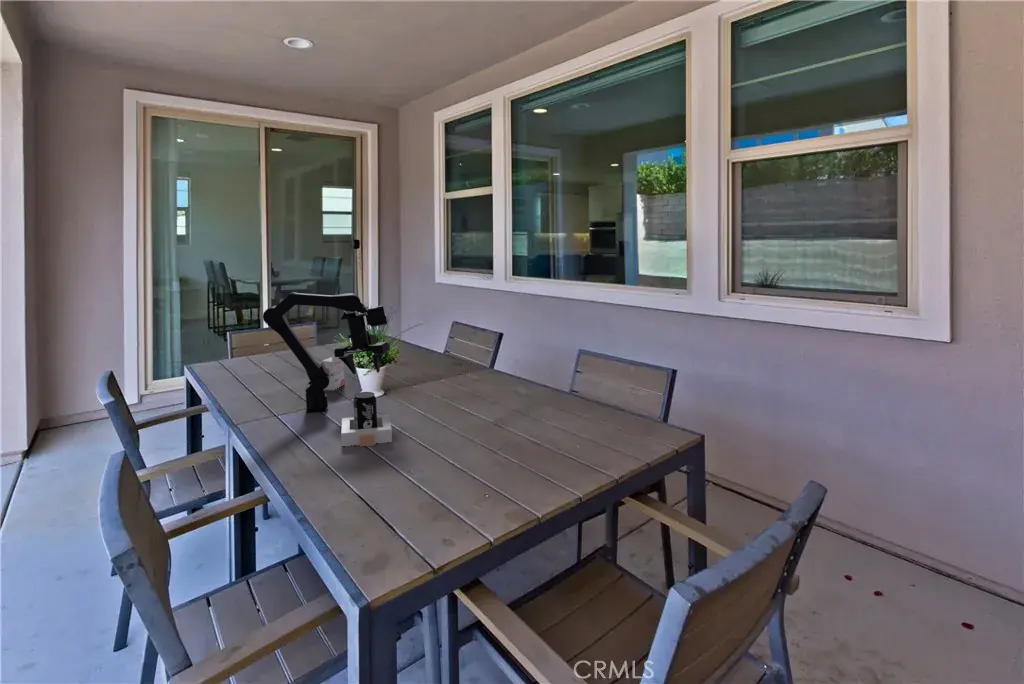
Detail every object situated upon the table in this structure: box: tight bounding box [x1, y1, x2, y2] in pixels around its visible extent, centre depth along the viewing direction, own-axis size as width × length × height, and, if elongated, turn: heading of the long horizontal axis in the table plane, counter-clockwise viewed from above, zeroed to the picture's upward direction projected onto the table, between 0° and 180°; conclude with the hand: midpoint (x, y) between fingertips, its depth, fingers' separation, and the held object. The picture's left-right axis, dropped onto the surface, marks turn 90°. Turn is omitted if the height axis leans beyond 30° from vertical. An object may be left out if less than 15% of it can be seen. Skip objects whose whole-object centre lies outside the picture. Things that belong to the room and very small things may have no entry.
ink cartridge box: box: [321, 352, 346, 391], centre depth 217 cm, size 9×5×15 cm, turn 168°
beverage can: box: [352, 391, 378, 430], centre depth 164 cm, size 7×7×12 cm
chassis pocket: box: [340, 414, 393, 448], centre depth 165 cm, size 14×16×4 cm
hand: (366, 373), depth 193 cm, fingers open, 9 cm apart
